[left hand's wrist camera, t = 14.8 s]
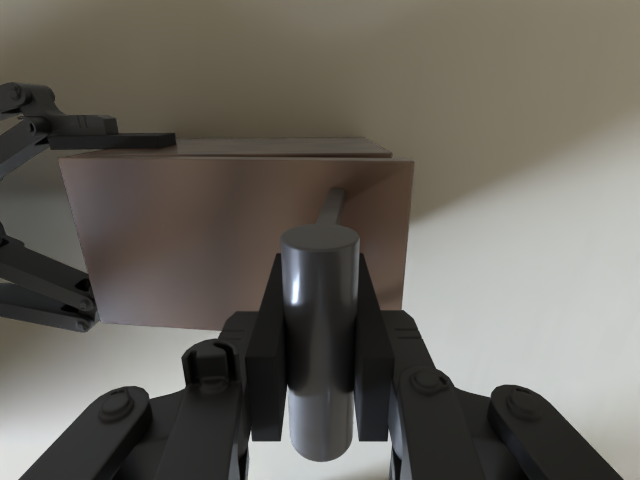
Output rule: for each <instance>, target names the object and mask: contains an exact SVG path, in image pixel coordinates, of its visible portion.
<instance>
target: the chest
mask: <svg viewBox="0 0 640 480" xmlns="http://www.w3.org/2000/svg"><path fill="white" fill-rule="evenodd" d="M77 155H79V156H193V157H308V158H392V153H391V152H389V151H387V150H386V149H384V148H382V147H380V146H379V145H377V144H375V143H373V142H371V141H370V140H368V139H366V138H364V137H358V138H220V139H176V144H175V145H171V146H167V147H163V148H144V149H104V150H99V151H93V152H88V153H83V154H77Z"/></svg>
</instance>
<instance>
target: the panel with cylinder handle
mask: <svg viewBox="0 0 640 480" xmlns="http://www.w3.org/2000/svg"><path fill="white" fill-rule="evenodd" d="M58 162H59V166H60V170H61V174H62V177H63V181H64V185H65V189H66V192H67V196H68V200H69V204H70V207H71V211H72V215H73V219H74V222H75V226H76V230H77V234H78V238H79V241H80V245H81V249H82V253H83V256H84V260H85V264H86V268H87V271H88V275H89V279H90V283H91V286H92V290H93V294H94V298H95V301H96V305H97V309H98V313H99V316H100V320H101V323H110V324H125V325H140V326H155V327H170V328H185V329H200V330H215V331H222V328H223V326H224V324H225V322H226V320H227V319H228V318H229V317H230V316H231V315H232V314H234V313H235V312H236V311H259V309H260V305H261V302H262V299H263V296H264V292H265V289H266V286H267V283H268V279H269V276H270V273H271V269H272V266H273V263H274V260H275V256H276V253H281V263H282V283H283V303H284V322H285V344H286V364H287V385H288V405H289V425H290V439H291V442H292V445H293V447H294V448H295V450H296V451H297V452H298V453H299V454H300V455H301V456H303V457H305V458H306V459H309V460H312V461H316V462H327V461H331V460H334V459H336V458H338V457H340V456H341V455H342V454H344V453H345V452H346V450H347V449H348V448H349V446H350V444H351V441H352V437H353V413H354V394H353V382H354V356H355V331H356V315H357V304H358V276H359V253H363V254H364V257H365V261H366V264H367V267H368V271H369V274H370V277H371V280H372V284H373V287H374V290H375V293H376V297H377V300H378V303H379V307H380V310H401V309H402V298H403V286H404V275H405V263H406V252H407V241H408V229H409V218H410V207H411V195H412V184H413V172H414V161H413V160H412V159H411V158H308V157H193V156H79V155H73V156H66V157H60V158H58Z"/></svg>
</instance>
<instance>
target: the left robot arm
mask: <svg viewBox="0 0 640 480" xmlns="http://www.w3.org/2000/svg"><path fill="white" fill-rule="evenodd" d="M181 359H182V365H183V371H184V377H185V382H186V387H185V389H183V390H181V391H178V392H175V393H172V394H168V395H164V396H160V397H156V398H152V399H149V394H148V393H147V392H146V391H145V390H144V389H143V388H140V387H137V386H126V387H121V388H118V389H114V390H111V391H109V392H107V393H106V394H104V395H102V396H100V397H99V398H97V399H96V400H95V401H94V402H93V403H91V404H90V405H89V406H88V407H87V408H86V409H85V410H84V411H83V412H82V413H81V415H80V416H79V417H78V418H77V419H76V420H75V421H74V422H73V423H72V424H71V425H70V426H69V427H68V428H67V429H66V430H65V431H64V432H63V433H62V434H61V436H60V437H59V438H58V439H57V440H56V441H55V442H54V443H53V444H52V445H51V446H50V447H49V448H48V449H47V450H46V451H45V452H44V453H43V454H42V455H41V456H40V458H39V459H38V460H37V461H36V462H35V463H34V464H33V465H32V466H31V467H30V468H29V469H28V470H27V471H26V472H25V473H24V474H23V475H22V476H21V477H20V478H19V480H247V479H248V468H249V451H248V441H249V436H250V432H251V433H252V441H281V434H282V425H283V417H284V408H285V400H286V391H287V364H286V344H285V322H284V303H283V283H282V263H281V253H276V256H275V260H274V263H273V266H272V269H271V273H270V276H269V279H268V283H267V286H266V289H265V292H264V296H263V299H262V302H261V305H260V309H259V311H236V312H235V313H234V314H232V315H231V316H230V317H229V318H228V319H227V320H226V322H225V324H224V326H223V328H222V332H221V333H220V335H219V337H218V339H210V340H205V341H202V342H200V343H197V344H195V345H193V346H192V347H191V348H189V349H188V350H186V352H185V353H184V355H183V356H182V357H181ZM353 394H354V403H355V411H356V420H357V428H358V436H359V441H388V430H389V431H390V436H391V441H392V451H391V461H390V471H389V480H623V478H622V477H621V476H620V475H619V474H618V473H617V472H616V471H615V470H614V469H613V468H612V467H611V466H610V465H609V464H608V463H607V462H606V461H605V460H604V459H603V458H602V457H601V456H600V455H599V453H598V452H597V451H596V450H595V449H594V448H593V447H592V446H591V445H590V444H589V443H588V442H587V441H586V440H585V439H584V438H583V437H582V436H581V435H580V434H579V433H578V432H577V431H576V430H575V428H574V427H573V426H572V425H571V424H570V423H569V422H568V421H567V420H566V419H565V418H564V417H563V416H562V415H561V414H560V413H559V412H558V411H557V410H556V409H555V408H554V407H553V406H552V405H551V403H549V402H548V401H547V400H546V399H545V398H543V397H542V396H541V395H539V394H537V393H535V392H534V391H532V390H530V389H528V388H524V387H521V386H517V385H502V386H499V387H496V388H495V389H494V390H493V392H492V393H491V397H485V396H481V395H477V394H473V393H469V392H466V391H463V390H460V389H458V388H456V387H454V385H453V383H452V381H451V380H450V378H449V377H448V376H447V375H445V374H444V373H443V372H442V371H440V370H438V369H436V368H435V365H434V363H433V361H432V359H431V357H430V354H429V352H428V350H427V348H426V345H425V343H424V341H423V339H422V337H421V334H420V332H419V331H418V328H417V326H416V323H415V321H414V319H413V318H412V317H411V316H410V315H409V314H407V313H406V312H405V311H404V310H380V307H379V303H378V300H377V297H376V293H375V290H374V287H373V284H372V280H371V277H370V274H369V271H368V267H367V264H366V261H365V257H364V254H363V253H359V276H358V304H357V315H356V331H355V356H354V382H353Z"/></svg>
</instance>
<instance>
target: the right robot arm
mask: <svg viewBox="0 0 640 480" xmlns="http://www.w3.org/2000/svg"><path fill="white" fill-rule="evenodd" d="M54 101H55V95H54V92H53V91H52V90H51V89H50V88H49V87H48V86H45V85H35V84H24V83H6V84H3V85H0V120H3V119H6V118H10V117H13V116H16V115H20V114H23V115H24V116H20V117H17V118H18V119H23V121H21V122H20V123H18V124H17V125H15V126H14V127H12V128H11V129H10V130H8V131H7V132H5V133H4V134H2V135H1V136H0V181H1V180H3V178H2V177H4V176H5V175H7V174H8V173H10V172H11V171H13V170H14V169H16V168H17V167H19V166H20V165H22V164H23V163H25V162H26V161H28V160H29V159H31V158H32V157H34V156H36V155H37V154H39V153H40V152H42V151H43V150H45V149H46V148H48V147H49V146H50V148H51V150H63V149H144V148H163V147H167V146H171V145H175V144H176V138H175V133H119V132H118V127H117V122H116V118H114V117H111V116H109V115H66V114H64V113H62V112H61V111H60V110H59V109H58V108H57V106H56V105H55V103H54ZM0 278H3V279H5V280H8V281H10V282H13V283H15V284H11V283H0V317H5V318H10V319H16V320H21V321H26V322H31V323H36V324H41V325H46V326H52V327H57V328H62V329H67V330H72V331H77V332H87V331H88V330H89V329H91V328H92V327H93V326H94V325H95V324H96V323H97V322H98V321H99V320H100V316H99V313H98V309H97V305H96V301H95V298H94V294H93V290H92V286H91V283H90V279H89V275H88V274H87V273H84V272H82V271H80V270H77V269H75V268H72V267H70V266H68V265H65V264H63V263H60V262H58V261H56V260H53V259H51V258H49V257H46V256H44V255H41V254H39V253H37V252H34V251H32V250H29V249H27V248H25V247H24V243H23V242H21V241H19V240H17V239H14V238H12V237H10V236H7V235H6V233H5V231H4V228H3V225H2V223H1V222H0ZM17 284H18V285H17Z"/></svg>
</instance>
